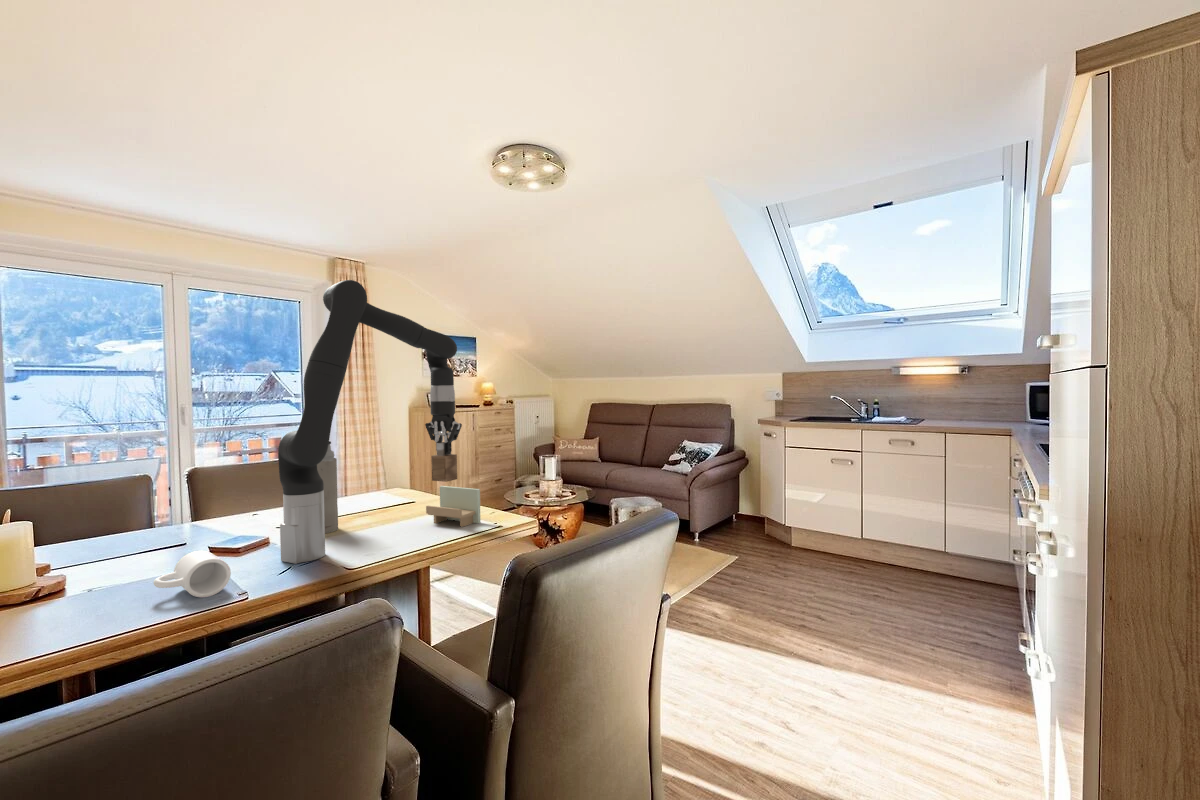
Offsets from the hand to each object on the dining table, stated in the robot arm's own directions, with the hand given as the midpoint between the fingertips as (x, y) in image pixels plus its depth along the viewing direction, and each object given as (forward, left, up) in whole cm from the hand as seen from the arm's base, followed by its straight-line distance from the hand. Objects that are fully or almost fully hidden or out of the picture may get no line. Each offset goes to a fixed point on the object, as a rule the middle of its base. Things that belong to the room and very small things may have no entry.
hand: (444, 453), depth 164 cm
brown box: (0, 0, -8) cm, 8 cm away
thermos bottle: (-19, +32, -23) cm, 44 cm away
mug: (-65, +12, -23) cm, 70 cm away
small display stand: (+3, 0, -23) cm, 23 cm away
